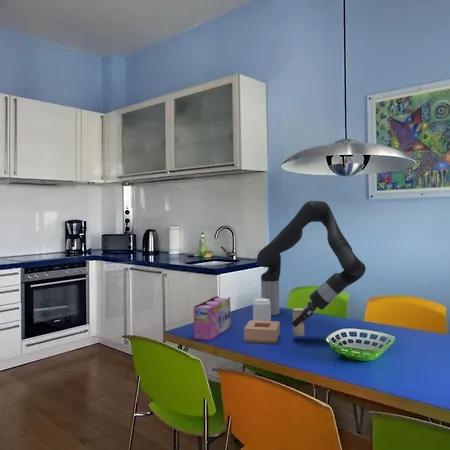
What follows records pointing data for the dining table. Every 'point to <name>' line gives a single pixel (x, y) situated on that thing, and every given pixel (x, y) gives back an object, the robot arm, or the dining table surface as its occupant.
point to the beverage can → (261, 309)
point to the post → (300, 328)
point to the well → (262, 332)
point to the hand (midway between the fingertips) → (293, 323)
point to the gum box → (211, 318)
